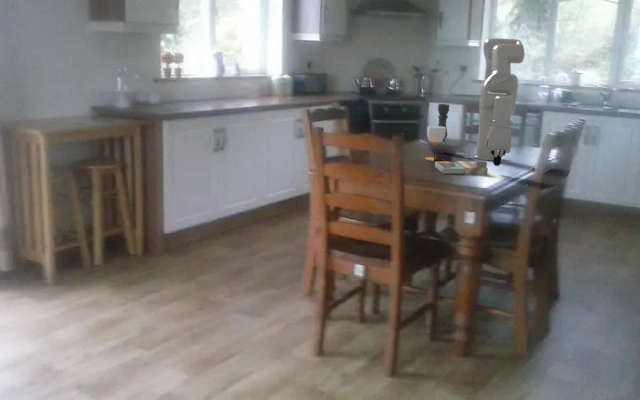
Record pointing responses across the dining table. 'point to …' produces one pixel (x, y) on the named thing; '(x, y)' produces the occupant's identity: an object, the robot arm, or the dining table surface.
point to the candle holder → (443, 116)
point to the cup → (435, 136)
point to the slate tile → (480, 163)
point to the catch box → (452, 170)
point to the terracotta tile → (445, 164)
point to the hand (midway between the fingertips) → (496, 165)
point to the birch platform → (472, 168)
